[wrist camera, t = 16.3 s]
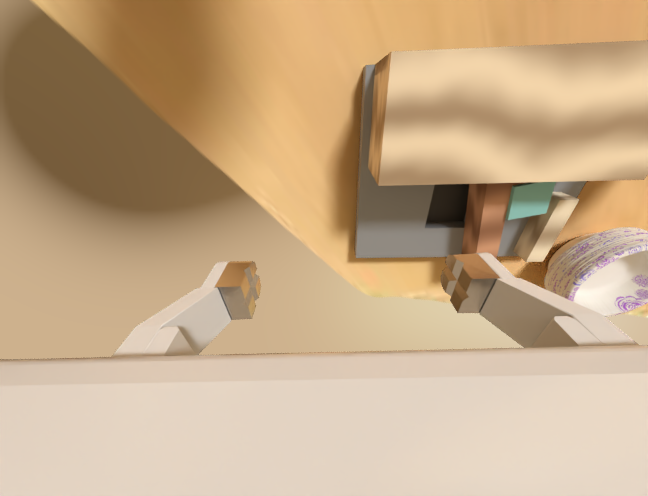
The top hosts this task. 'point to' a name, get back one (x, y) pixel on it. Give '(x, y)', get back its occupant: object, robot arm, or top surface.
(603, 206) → the top surface
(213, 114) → the top surface
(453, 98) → the shelf
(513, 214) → the block
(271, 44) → the top surface
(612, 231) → the paper bowls
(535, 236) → the stick
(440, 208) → the board
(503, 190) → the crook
